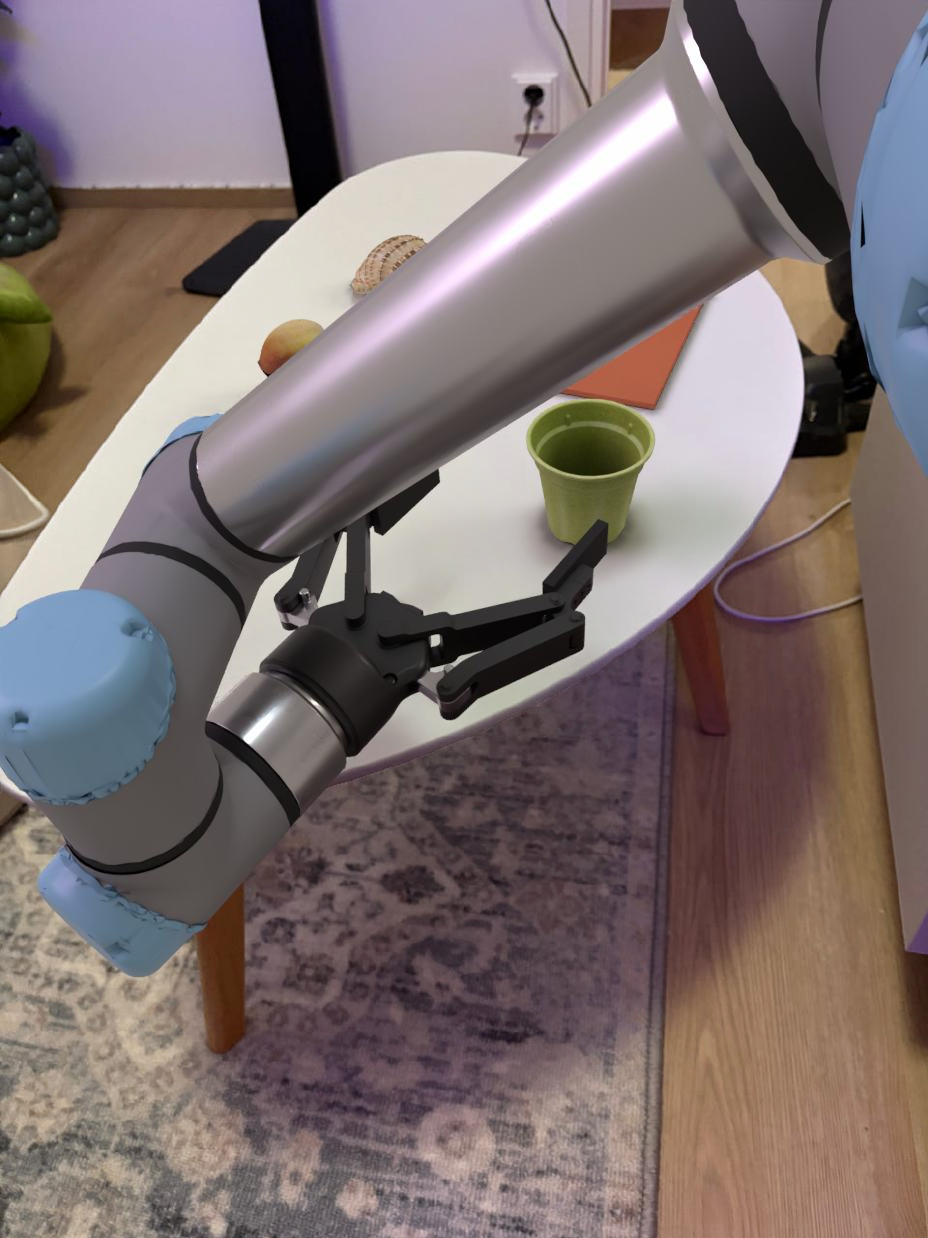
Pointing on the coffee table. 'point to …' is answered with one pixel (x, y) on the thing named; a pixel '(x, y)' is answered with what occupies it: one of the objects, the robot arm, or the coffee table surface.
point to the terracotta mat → (638, 368)
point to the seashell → (385, 261)
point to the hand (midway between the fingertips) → (514, 498)
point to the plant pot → (589, 463)
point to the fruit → (286, 343)
